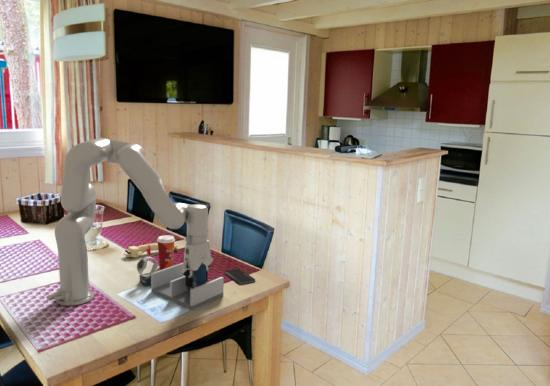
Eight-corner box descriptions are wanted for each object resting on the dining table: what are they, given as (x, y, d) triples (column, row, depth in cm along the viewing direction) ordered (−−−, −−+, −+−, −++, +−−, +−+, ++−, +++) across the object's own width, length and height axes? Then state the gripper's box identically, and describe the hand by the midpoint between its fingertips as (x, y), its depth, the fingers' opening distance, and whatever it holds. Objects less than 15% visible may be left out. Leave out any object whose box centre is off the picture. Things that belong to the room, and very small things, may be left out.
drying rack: (192, 310, 156) (192, 290, 154) (151, 291, 169) (151, 273, 168) (223, 295, 168) (223, 277, 167) (183, 279, 182) (182, 262, 180)
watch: (135, 283, 176) (134, 257, 174) (153, 278, 181) (152, 253, 179) (141, 288, 172) (141, 261, 170) (160, 283, 178) (159, 257, 175)
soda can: (204, 286, 169) (204, 257, 167) (207, 294, 163) (207, 263, 160) (186, 288, 167) (186, 258, 165) (188, 295, 161) (188, 264, 158)
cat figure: (170, 249, 222) (120, 253, 207) (171, 232, 221) (121, 236, 206) (178, 254, 215) (128, 260, 199) (180, 237, 214) (129, 241, 198)
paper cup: (170, 271, 190) (170, 240, 187) (154, 269, 191) (153, 239, 188) (178, 265, 197) (177, 235, 194) (162, 263, 198) (161, 234, 196)
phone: (239, 283, 179) (223, 271, 191) (239, 286, 179) (223, 273, 191) (256, 280, 183) (239, 268, 195) (256, 282, 183) (239, 270, 195)
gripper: (186, 245, 152) (185, 293, 155) (221, 235, 166) (220, 279, 169) (171, 241, 156) (171, 287, 160) (207, 231, 170) (206, 274, 173)
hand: (196, 283), depth 164 cm, fingers closed on soda can, 6 cm apart
